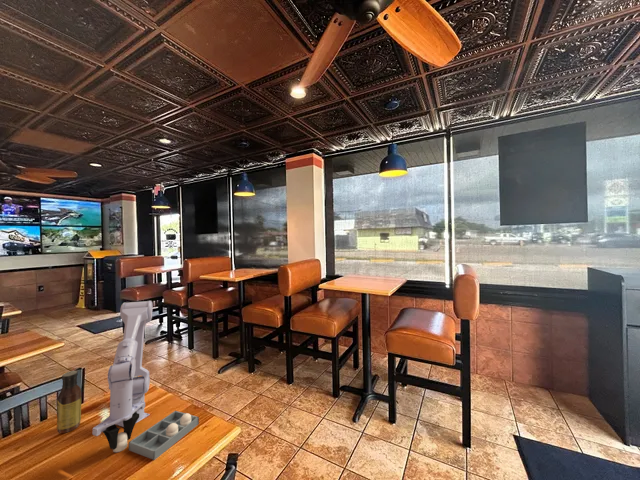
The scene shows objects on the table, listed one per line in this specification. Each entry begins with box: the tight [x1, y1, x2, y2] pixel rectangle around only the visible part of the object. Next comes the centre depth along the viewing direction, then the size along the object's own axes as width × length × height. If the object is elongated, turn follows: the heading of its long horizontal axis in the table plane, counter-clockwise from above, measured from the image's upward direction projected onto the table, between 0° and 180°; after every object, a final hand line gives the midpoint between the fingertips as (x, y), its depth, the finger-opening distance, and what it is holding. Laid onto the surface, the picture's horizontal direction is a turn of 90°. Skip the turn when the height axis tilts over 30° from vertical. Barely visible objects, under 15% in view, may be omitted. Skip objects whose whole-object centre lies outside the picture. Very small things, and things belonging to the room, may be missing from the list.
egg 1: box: [112, 431, 128, 453], centre depth 82 cm, size 4×4×5 cm
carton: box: [128, 410, 200, 461], centre depth 87 cm, size 12×17×3 cm
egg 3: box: [180, 412, 192, 426], centre depth 91 cm, size 4×4×5 cm
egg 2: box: [166, 423, 178, 437], centre depth 86 cm, size 4×4×5 cm
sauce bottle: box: [56, 370, 82, 434], centre depth 92 cm, size 6×6×20 cm
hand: (120, 443), depth 82 cm, fingers closed on egg 1, 4 cm apart
